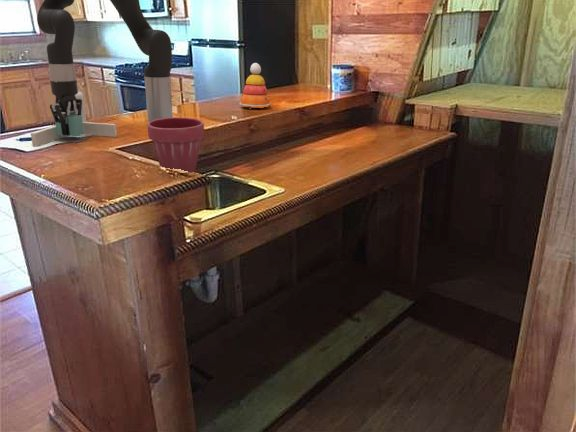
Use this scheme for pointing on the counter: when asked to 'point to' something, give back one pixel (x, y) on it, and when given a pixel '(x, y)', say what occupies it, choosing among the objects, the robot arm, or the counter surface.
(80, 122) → the teal block
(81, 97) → the pill bottle
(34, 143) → the beige l-shaped wall
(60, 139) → the pad
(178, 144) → the plant pot
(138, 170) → the counter surface
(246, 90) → the stacking toy
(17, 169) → the counter surface
